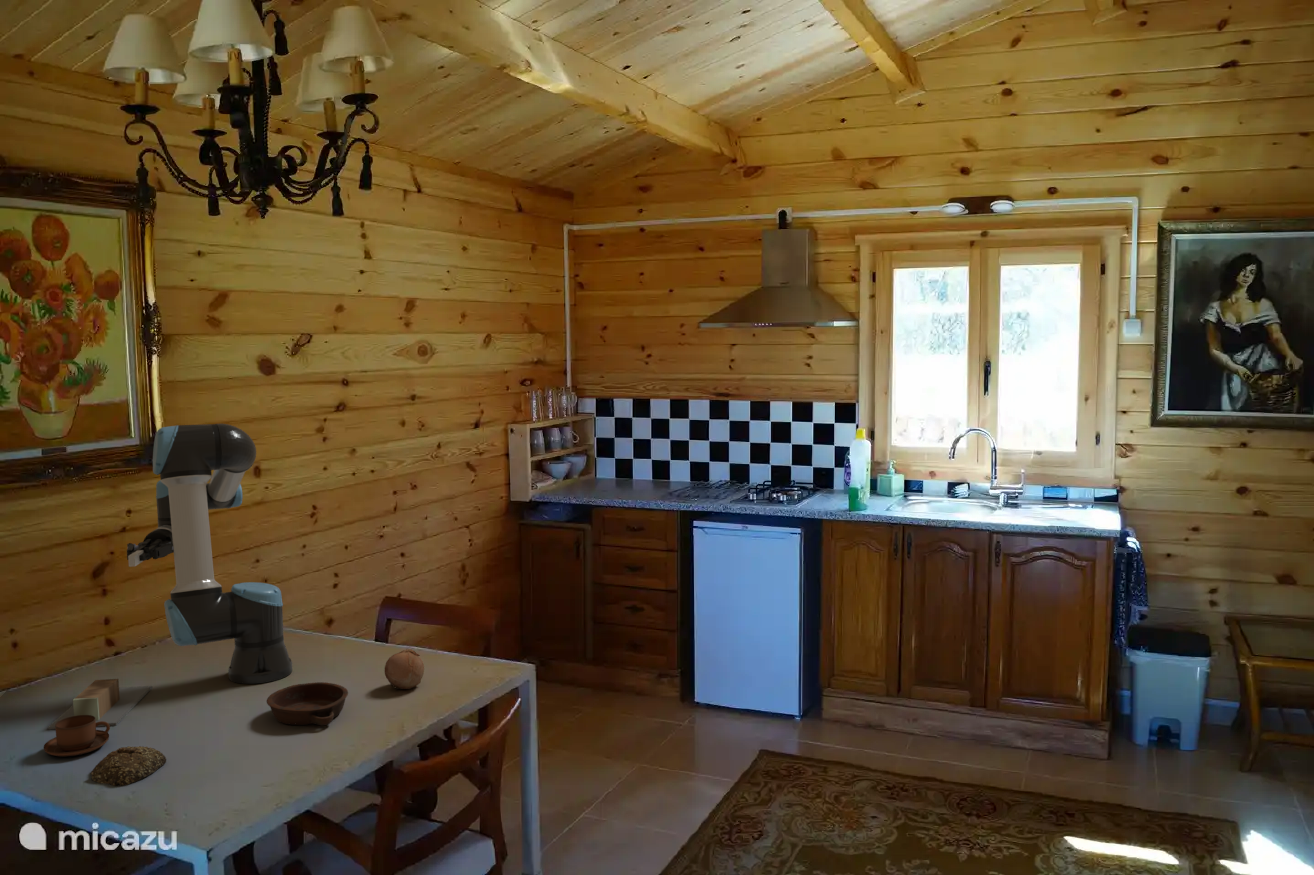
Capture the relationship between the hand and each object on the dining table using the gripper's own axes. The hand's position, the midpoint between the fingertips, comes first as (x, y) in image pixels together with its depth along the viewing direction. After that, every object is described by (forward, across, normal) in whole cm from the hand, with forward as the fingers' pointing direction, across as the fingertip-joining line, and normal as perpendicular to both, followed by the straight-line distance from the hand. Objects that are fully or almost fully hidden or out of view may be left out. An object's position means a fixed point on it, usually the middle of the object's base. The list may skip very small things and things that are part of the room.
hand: (131, 561), depth 255 cm
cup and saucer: (+45, -2, -30) cm, 54 cm away
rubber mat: (+21, +1, -30) cm, 36 cm away
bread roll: (+58, -16, -31) cm, 68 cm away
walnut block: (+17, +1, -27) cm, 32 cm away
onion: (+18, -67, -30) cm, 76 cm away
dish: (+33, -47, -30) cm, 65 cm away
